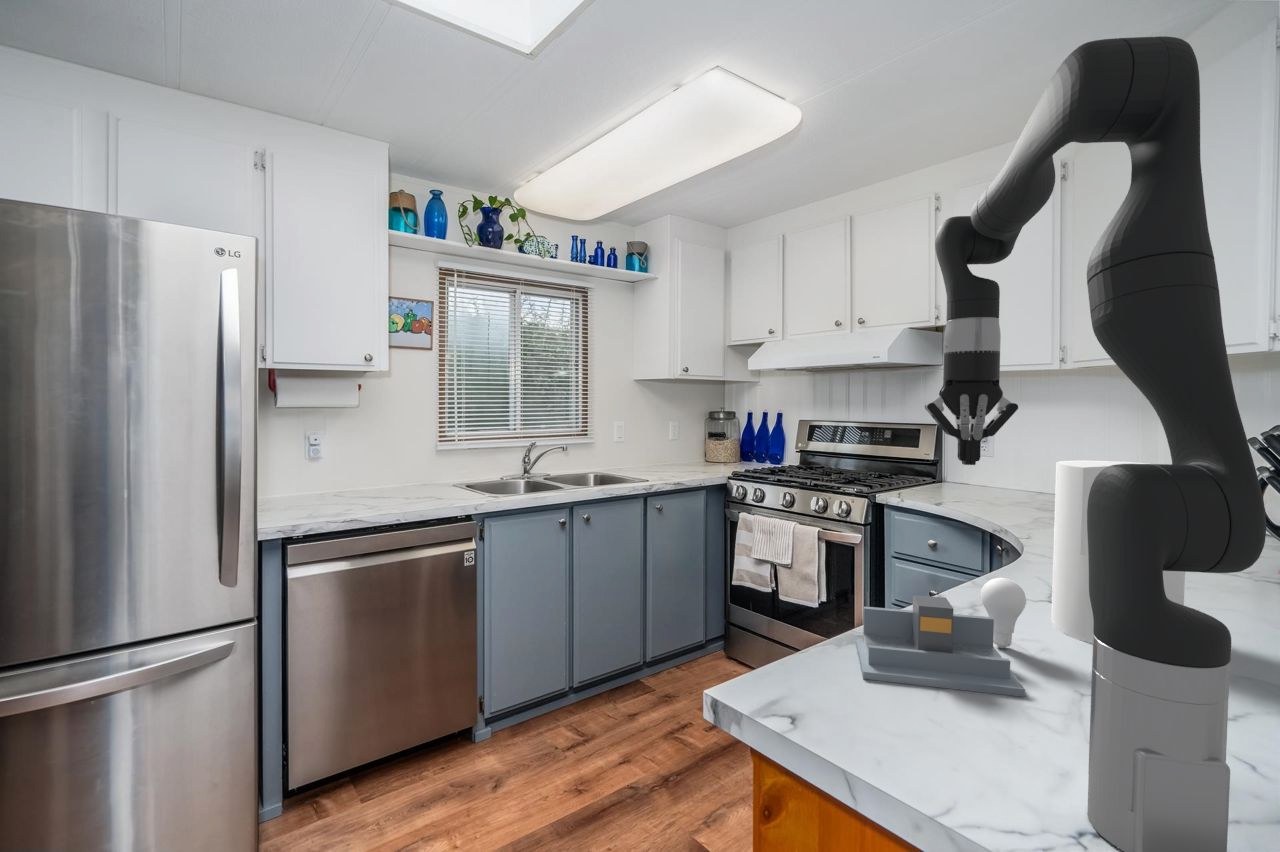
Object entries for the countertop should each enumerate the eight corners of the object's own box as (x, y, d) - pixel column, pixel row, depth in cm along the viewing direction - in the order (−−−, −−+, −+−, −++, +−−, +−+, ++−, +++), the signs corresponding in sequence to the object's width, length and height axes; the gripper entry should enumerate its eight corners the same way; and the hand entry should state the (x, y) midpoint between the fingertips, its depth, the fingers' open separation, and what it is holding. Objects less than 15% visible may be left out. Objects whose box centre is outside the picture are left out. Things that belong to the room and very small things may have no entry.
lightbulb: (1031, 657, 93) (1033, 585, 92) (987, 654, 94) (989, 583, 93) (1015, 641, 99) (1017, 574, 98) (974, 638, 100) (975, 571, 99)
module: (952, 658, 86) (953, 609, 86) (918, 654, 88) (918, 606, 87) (944, 644, 91) (945, 597, 91) (912, 640, 93) (913, 595, 92)
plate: (1008, 676, 84) (1008, 665, 84) (868, 662, 89) (868, 651, 89) (992, 656, 91) (993, 646, 91) (863, 643, 95) (863, 634, 95)
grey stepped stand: (1024, 696, 80) (1026, 648, 80) (863, 678, 86) (863, 632, 85) (997, 659, 92) (998, 616, 92) (856, 645, 97) (856, 604, 97)
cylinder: (1027, 621, 108) (1032, 462, 106) (1094, 609, 114) (1099, 459, 113) (1136, 660, 92) (1143, 473, 90) (1207, 644, 98) (1215, 469, 96)
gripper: (928, 349, 91) (926, 465, 92) (1029, 347, 88) (1026, 468, 88) (919, 353, 98) (917, 461, 99) (1012, 351, 95) (1009, 463, 96)
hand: (968, 464), depth 94 cm, fingers closed
